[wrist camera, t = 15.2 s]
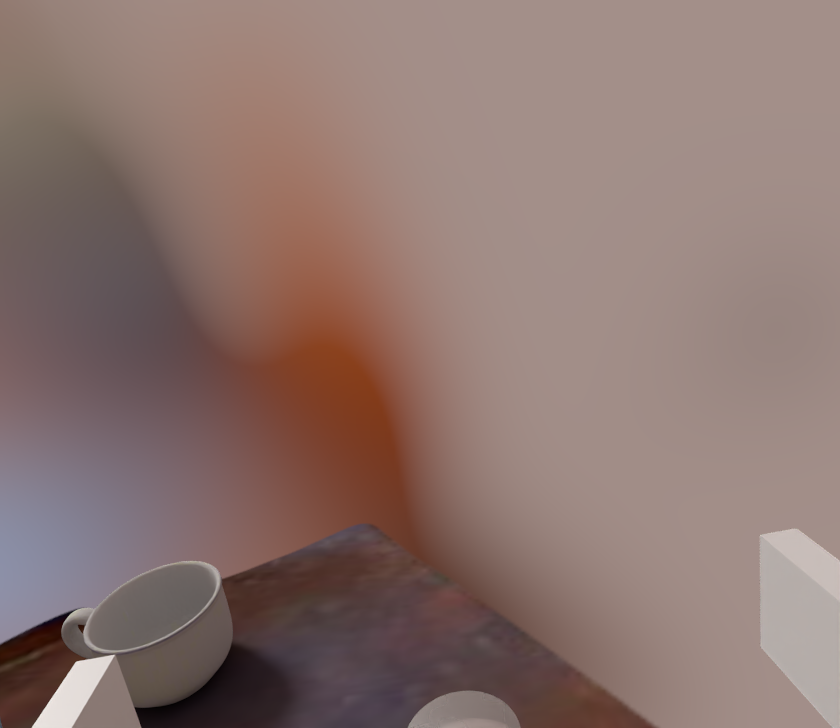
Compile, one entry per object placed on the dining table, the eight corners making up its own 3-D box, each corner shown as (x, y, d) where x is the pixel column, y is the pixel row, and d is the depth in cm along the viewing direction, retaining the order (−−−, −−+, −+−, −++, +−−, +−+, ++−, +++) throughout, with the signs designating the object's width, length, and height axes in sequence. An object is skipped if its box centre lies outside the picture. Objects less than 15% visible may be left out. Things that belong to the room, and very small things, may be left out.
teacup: (264, 634, 53) (243, 558, 52) (195, 737, 43) (165, 647, 41) (140, 632, 57) (116, 561, 55) (49, 726, 47) (16, 643, 45)
